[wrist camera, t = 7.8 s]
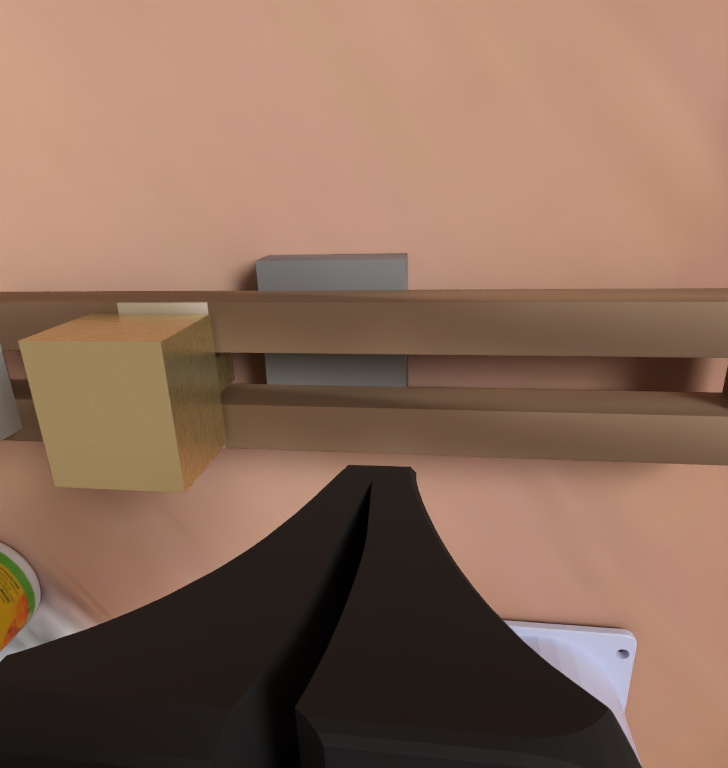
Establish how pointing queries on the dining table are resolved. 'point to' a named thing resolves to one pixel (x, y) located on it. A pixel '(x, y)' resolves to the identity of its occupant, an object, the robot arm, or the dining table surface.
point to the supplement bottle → (16, 593)
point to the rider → (128, 399)
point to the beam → (423, 337)
